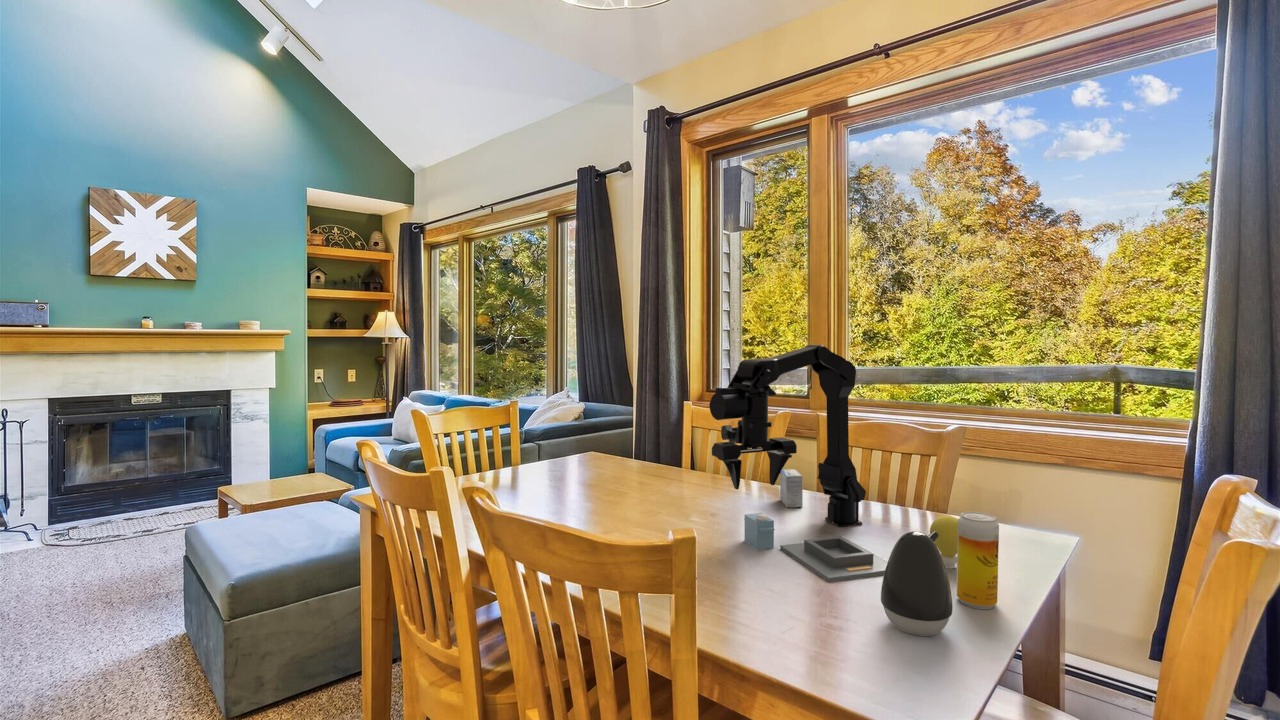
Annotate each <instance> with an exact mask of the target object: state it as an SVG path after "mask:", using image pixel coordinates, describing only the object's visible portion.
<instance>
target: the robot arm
mask: <svg viewBox="0 0 1280 720" xmlns="http://www.w3.org/2000/svg"><path fill="white" fill-rule="evenodd" d="M809 366H810V368H811V369H810V370H812V371H813V372H815V374H817V375H818V380H819V386H820V388H821V390H822V392H823V394H824V395H825V397H826V398H825V399H826V457H825V459H824V461H823V462H819V463H818V466H817V468H818V476H817V479H818V480H819V483H820V485H821V487H822V491H823V494H824V495H827V496H828V497H829V498H828V503H827V516H825V518H824V519H825V520H826V521H828V522H830V523H832V524H833V525H836V526H837V527H840V528H841V527H852V526H858V525H859V526H860V525H863V521H861V520H859V514H860V513H859V512H860V511H859V509H860V507H859V506H860V504H859V503H861V502H862V501H864V500H865V498H866V495H867V494H866V493H867V491H866V489H865V488H864V486H862V485H861V483H860V482H859V481H858V475H857V469H856V467H855V464H854V463H853V461H852V460H851V457H850V453H849V452H850V451H849V450H850V445H849V444H850V443H849V442H850V441H849V439H850V437H849V396H850V394H851V393H852V392H853V390H854V389H855V385H856V376H857V369H856V366H855V365H854V364H853V363H852V361H850V360H847V359H846V358H844V357H843V356H841V355H839V354H836V353H835V352H833V351H832V350H830V349H829V348H827V346H825V345H823V344H808V345H806V346H804V347H801V348H799V349H795V350H792V351H788V352H785V353H782V354H779V355H775V356H773V357H769V358H768V357H767V358H765V357H763V358H748V359H744V360H741V361H740V362H739V365H738V367H737V370H736V371H735V374H734V375H733V377H732V379H731V380H730V382H729V384H728V386H727V387H716V388H715V393H714V394H713V395H712V396H711V399H710V402H709V410H710V414H711V416H712V418H713V419H714V420H716V421H723V420H733V419H739V420H738V421H737V427H733V426H732V425H731V424H725V425H722V426H721V427H720V428H721V429H720V435H721V439H722V442H714V443H713V445H712V447H711V456H712V457H715V458H717V460H720V461H722V462H723V464H724V465H725V467H726V469H727V471H728V473H729V476H730V479H731V483H732V485H733V488H734V489H735V490H739V488H740V484H741V471H742V462H743V460H742V459H739V458H740V457H741V455H743V454H751V453H752V454H753V453H763V452H764V453H765V452H766V454H767V456H768V460H769V477H768V478H769V485H771V486H775V485H776V483H777V480H778V479H779V477H780V472H781V470H783V469H784V467H785V465H786V463H787V462H788V460H789V459H791V458H792V457H793V455H794V454H797V453H798V447H797V446H798V445H797V443H796V441H795V440H794V439H790V438H786V437H783V436H782V437H770V438H769V428H772V422H771V421H769V397H772V396H776V395H777V392H776V391H775V390H774V389H773V388H771V386H770V385H771V384H773V383H774V382H776V381H777V380H778V379H779V377H780V376H782V375H784V374H788V373H789V372H792V371H797V370H799V369H802V368H806V367H809Z"/></svg>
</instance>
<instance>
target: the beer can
mask: <svg viewBox="0 0 1280 720" xmlns="http://www.w3.org/2000/svg"><path fill="white" fill-rule="evenodd" d="M957 519H958V548H957V554H956V556H957V563H956V565H957V567H956V596H957V598H958V599H959V601H960V602H961V604H964V605H965V606H967V607H970V608H972V607H973V608H974V609H978V610H991V609H993V607H994V606H995V605H997V604H998V589H999V588H998V585H999V583H998V582H999V548H1000V547H999V545H1000V544H999V542H1000V539H999V538H1000V524H999V523H998V520H997V517H996V516H994V515H992V514H989V513H985V512H980V511H979V512H978V511H963V512H961V513H960V515H959V517H958V518H957Z"/></svg>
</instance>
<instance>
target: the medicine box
mask: <svg viewBox="0 0 1280 720" xmlns="http://www.w3.org/2000/svg"><path fill="white" fill-rule="evenodd" d="M779 483H780V485H779V497H780V498H779V500H780V501H781V502H782V503H783V505H784V506H785V507H786V508H787V507H802V508H803V504H804V503H803V502H804V501H803V475H802V474H801V473H800V472H798V470H796V469H782V470H781V472H780V474H779Z"/></svg>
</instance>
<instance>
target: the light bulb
mask: <svg viewBox="0 0 1280 720" xmlns="http://www.w3.org/2000/svg"><path fill="white" fill-rule="evenodd" d="M958 519H959V518H957V517H956V516H951V515H941V516H939V517H936V518H935V519H934V520H933V521H932V522H931V525H930V527H929V534H930V533H932V532H933V531H935V532H937V533H938V535H939V536H938V538H937V539H936V540H935V542H934V543H935V545H936V546H937V548H938V550H939V552H940V554H941V557H942V559H943V562H944V565H945V568H946V569H955V566H956V564H957V548H958Z"/></svg>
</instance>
